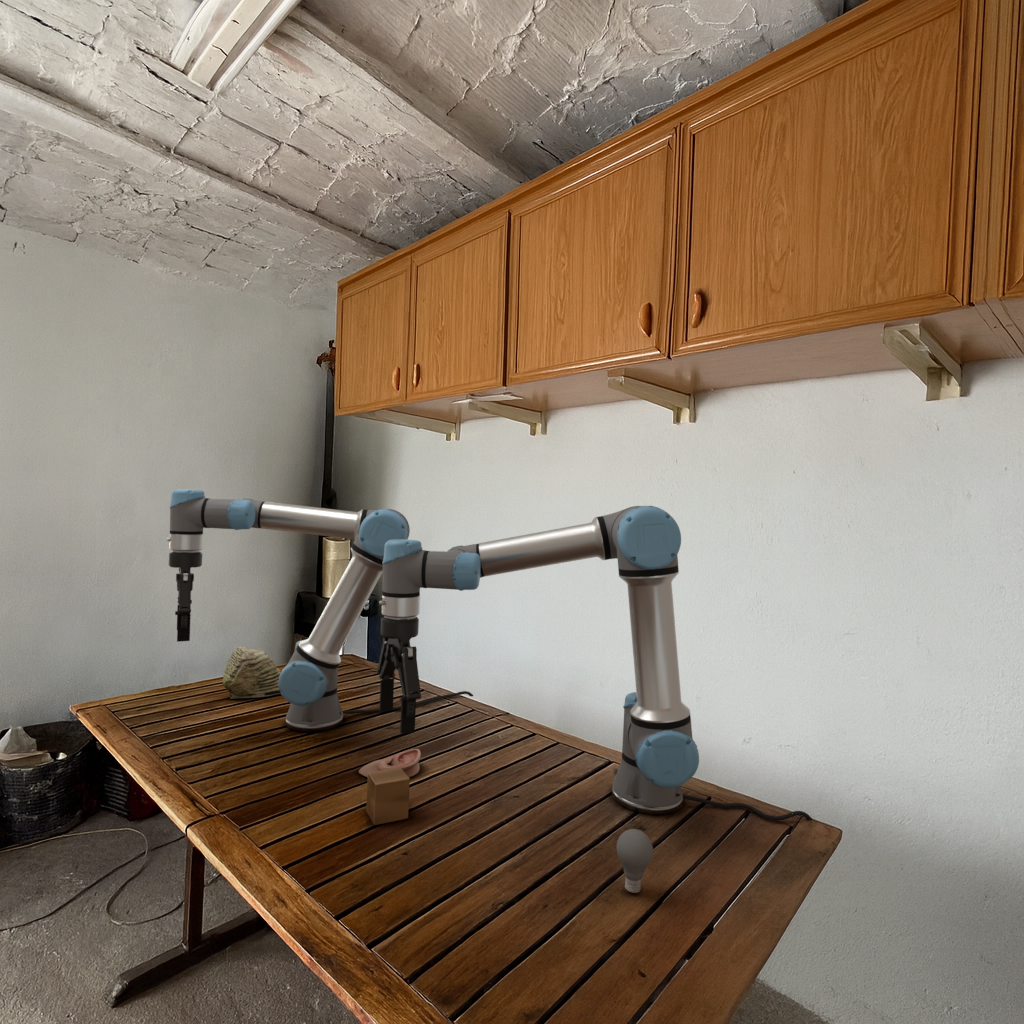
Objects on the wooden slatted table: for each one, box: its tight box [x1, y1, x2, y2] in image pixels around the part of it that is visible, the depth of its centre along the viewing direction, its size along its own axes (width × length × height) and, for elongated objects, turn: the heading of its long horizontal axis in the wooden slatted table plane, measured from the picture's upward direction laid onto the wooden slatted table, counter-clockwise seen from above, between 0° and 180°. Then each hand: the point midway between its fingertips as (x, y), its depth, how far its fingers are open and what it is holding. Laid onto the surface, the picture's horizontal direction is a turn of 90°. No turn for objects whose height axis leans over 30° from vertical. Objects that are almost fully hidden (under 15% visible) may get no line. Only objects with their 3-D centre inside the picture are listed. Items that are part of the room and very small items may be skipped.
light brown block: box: [365, 767, 411, 826], centre depth 127 cm, size 6×7×8 cm
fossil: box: [222, 646, 281, 699], centre depth 198 cm, size 9×18×15 cm, turn 132°
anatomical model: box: [358, 748, 422, 779], centre depth 147 cm, size 13×4×12 cm
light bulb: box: [615, 828, 654, 894], centre depth 106 cm, size 6×6×10 cm
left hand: (182, 635), depth 159 cm, fingers open, 13 cm apart
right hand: (396, 721), depth 128 cm, fingers open, 13 cm apart
